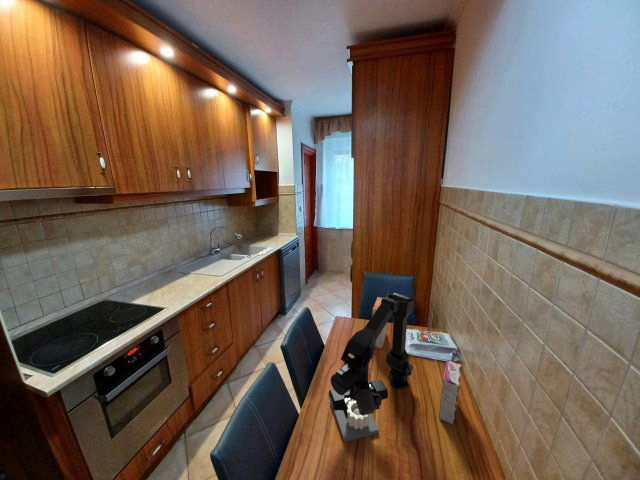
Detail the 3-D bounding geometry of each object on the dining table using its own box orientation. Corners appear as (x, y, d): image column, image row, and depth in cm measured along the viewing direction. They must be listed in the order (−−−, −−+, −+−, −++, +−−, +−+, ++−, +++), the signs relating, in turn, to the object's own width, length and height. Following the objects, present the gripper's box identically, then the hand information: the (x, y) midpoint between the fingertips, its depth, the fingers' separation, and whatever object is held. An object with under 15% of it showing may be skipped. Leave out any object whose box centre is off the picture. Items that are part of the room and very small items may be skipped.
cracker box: (375, 331, 136) (377, 296, 131) (386, 333, 134) (389, 298, 129) (370, 346, 123) (372, 308, 118) (382, 349, 121) (384, 311, 116)
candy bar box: (441, 395, 95) (446, 359, 91) (456, 401, 92) (462, 364, 89) (437, 418, 86) (443, 379, 82) (453, 426, 83) (460, 385, 79)
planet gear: (363, 406, 87) (363, 397, 86) (372, 426, 80) (373, 416, 79) (342, 411, 85) (343, 401, 84) (350, 431, 78) (351, 421, 77)
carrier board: (360, 395, 95) (360, 381, 94) (378, 433, 81) (379, 417, 79) (330, 402, 92) (330, 387, 91) (344, 442, 78) (344, 426, 77)
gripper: (339, 402, 69) (338, 446, 72) (399, 389, 73) (395, 430, 77) (328, 373, 79) (327, 412, 83) (381, 363, 84) (378, 400, 87)
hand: (357, 414), depth 82 cm, fingers open, 8 cm apart
